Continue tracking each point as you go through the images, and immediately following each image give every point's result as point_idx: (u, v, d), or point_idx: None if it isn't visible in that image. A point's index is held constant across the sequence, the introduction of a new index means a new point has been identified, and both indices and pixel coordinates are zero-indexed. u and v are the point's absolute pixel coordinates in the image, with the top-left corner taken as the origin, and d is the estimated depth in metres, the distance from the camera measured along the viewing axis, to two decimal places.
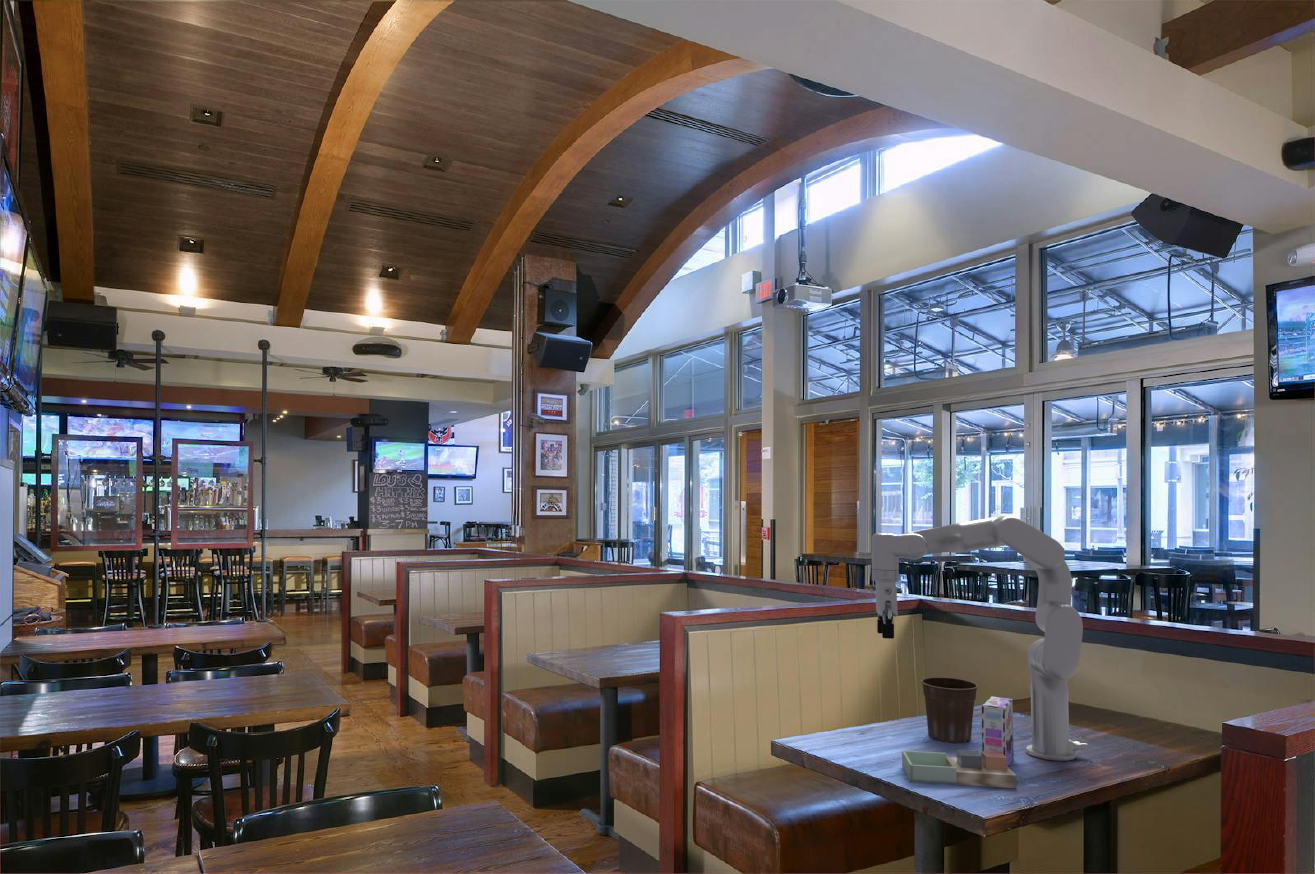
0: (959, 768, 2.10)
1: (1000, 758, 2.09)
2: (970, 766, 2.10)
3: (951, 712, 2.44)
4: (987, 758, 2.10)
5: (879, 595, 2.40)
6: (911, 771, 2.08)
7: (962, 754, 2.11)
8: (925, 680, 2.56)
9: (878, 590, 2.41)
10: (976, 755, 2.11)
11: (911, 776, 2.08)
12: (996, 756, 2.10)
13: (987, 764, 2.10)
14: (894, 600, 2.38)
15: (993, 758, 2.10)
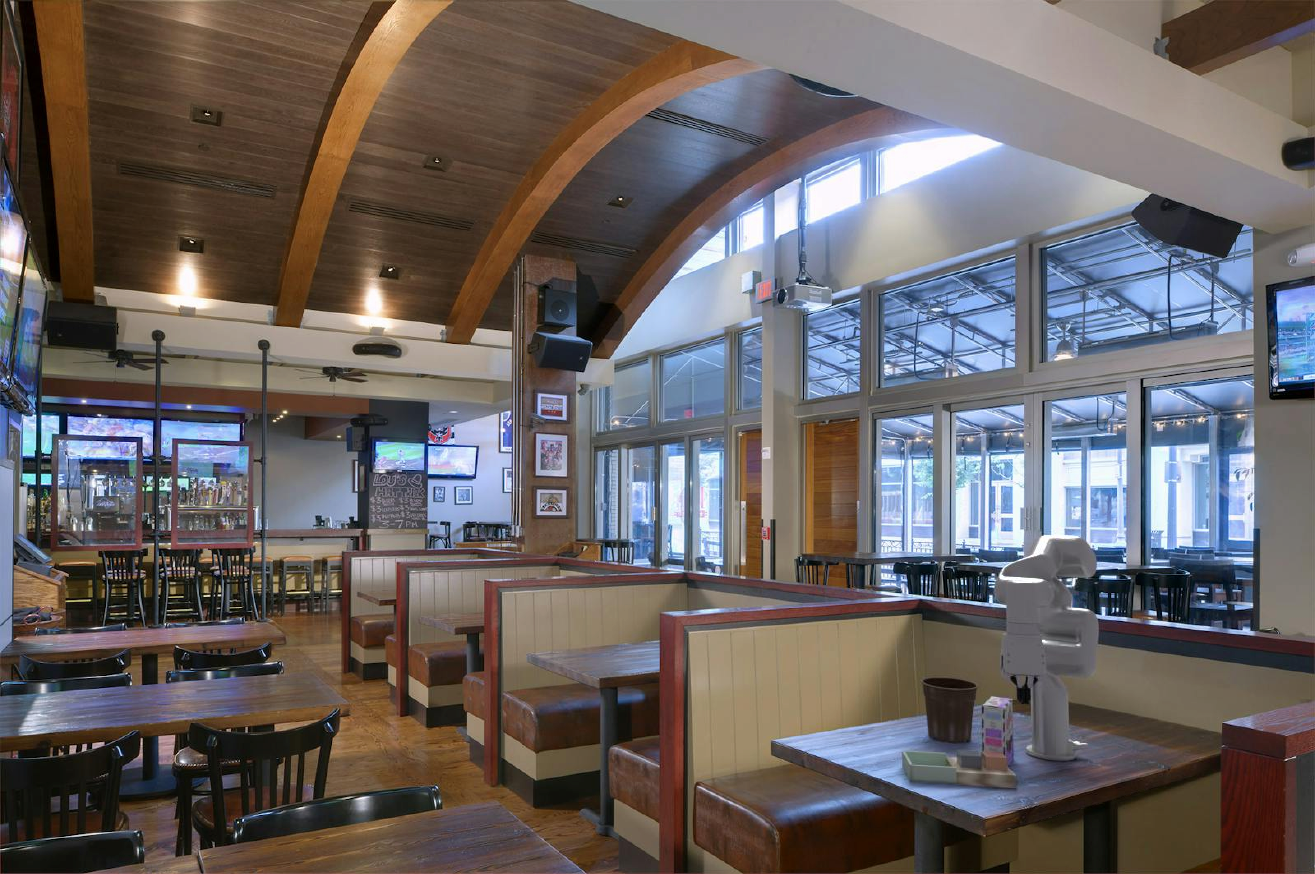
0: (959, 768, 2.10)
1: (1000, 758, 2.09)
2: (970, 766, 2.10)
3: (951, 712, 2.44)
4: (987, 758, 2.10)
5: (1040, 652, 2.11)
6: (911, 771, 2.08)
7: (962, 754, 2.11)
8: (925, 680, 2.56)
9: (1036, 647, 2.11)
10: (976, 755, 2.11)
11: (911, 776, 2.08)
12: (996, 756, 2.10)
13: (987, 764, 2.10)
14: None
15: (993, 758, 2.10)
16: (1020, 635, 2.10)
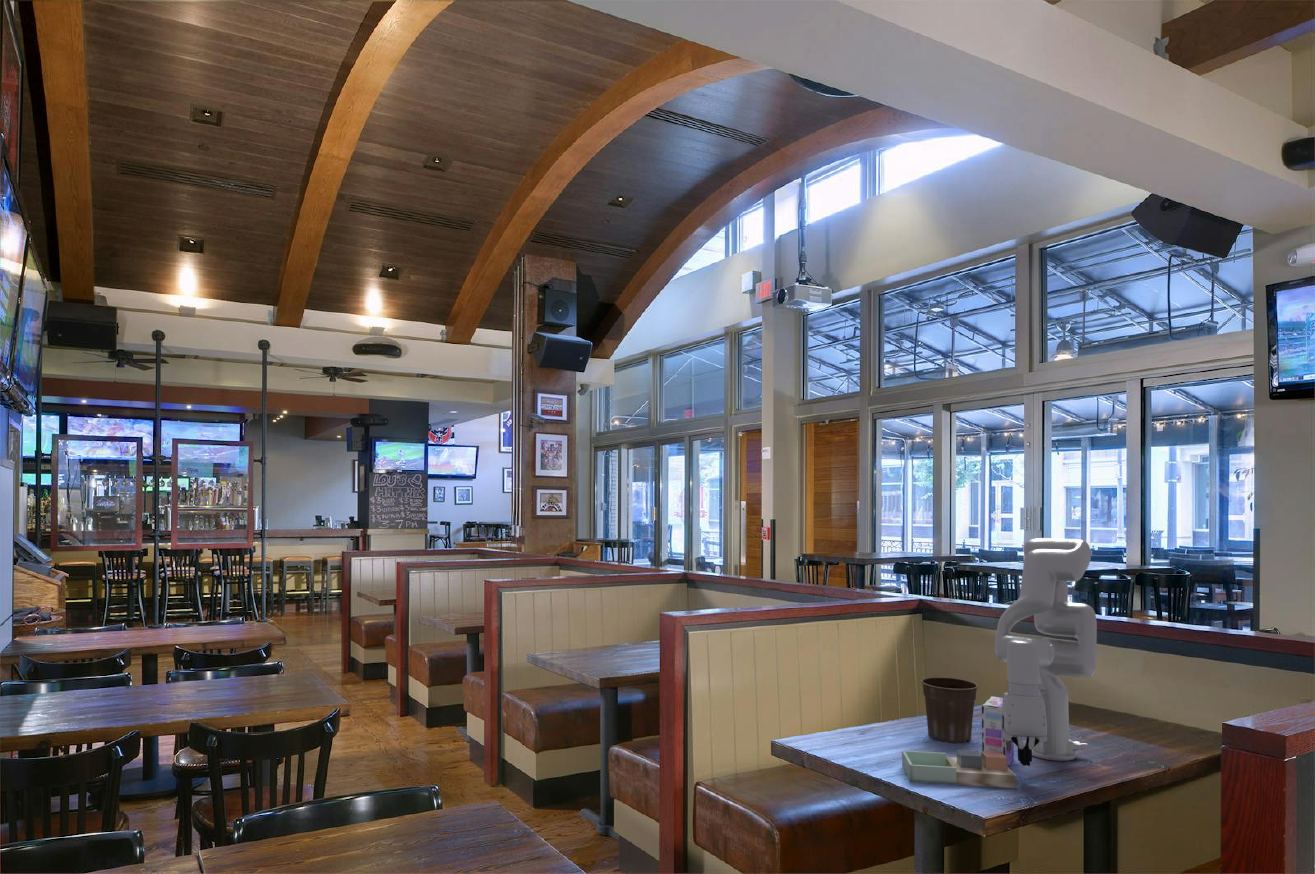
0: (959, 768, 2.10)
1: (1000, 758, 2.09)
2: (970, 766, 2.10)
3: (951, 712, 2.44)
4: (987, 758, 2.10)
5: (1042, 713, 2.09)
6: (911, 771, 2.08)
7: (962, 754, 2.11)
8: (925, 680, 2.56)
9: (1037, 708, 2.09)
10: (976, 755, 2.11)
11: (911, 776, 2.08)
12: (996, 756, 2.10)
13: (987, 764, 2.10)
14: None
15: (993, 758, 2.10)
16: (1021, 696, 2.09)
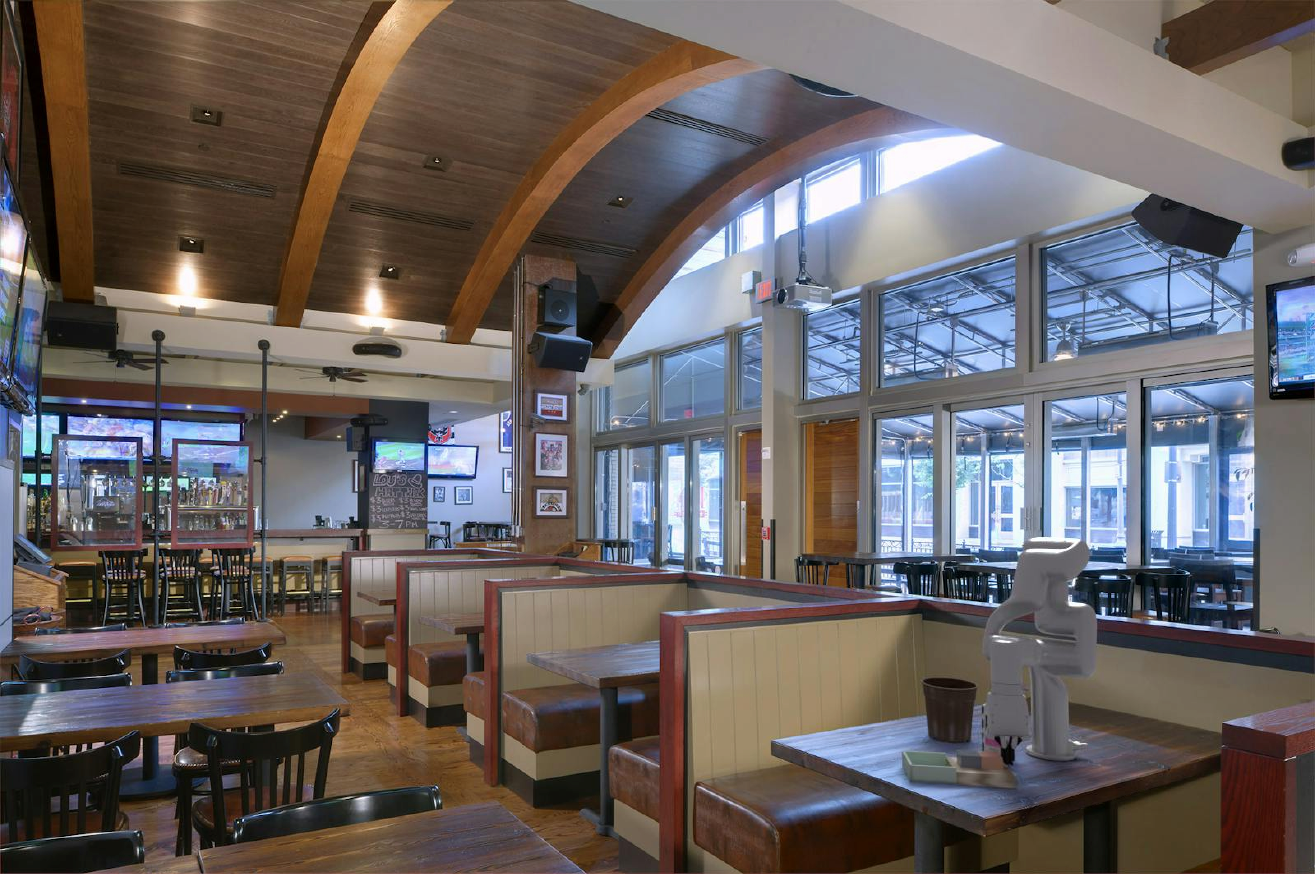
0: (959, 768, 2.10)
1: (996, 758, 2.10)
2: (970, 766, 2.10)
3: (951, 712, 2.44)
4: (983, 758, 2.10)
5: (1024, 713, 2.10)
6: (911, 771, 2.08)
7: (962, 754, 2.11)
8: (925, 680, 2.56)
9: (1020, 707, 2.10)
10: (976, 755, 2.11)
11: (911, 776, 2.08)
12: (992, 755, 2.10)
13: (983, 764, 2.10)
14: None
15: (989, 758, 2.10)
16: (1004, 696, 2.10)
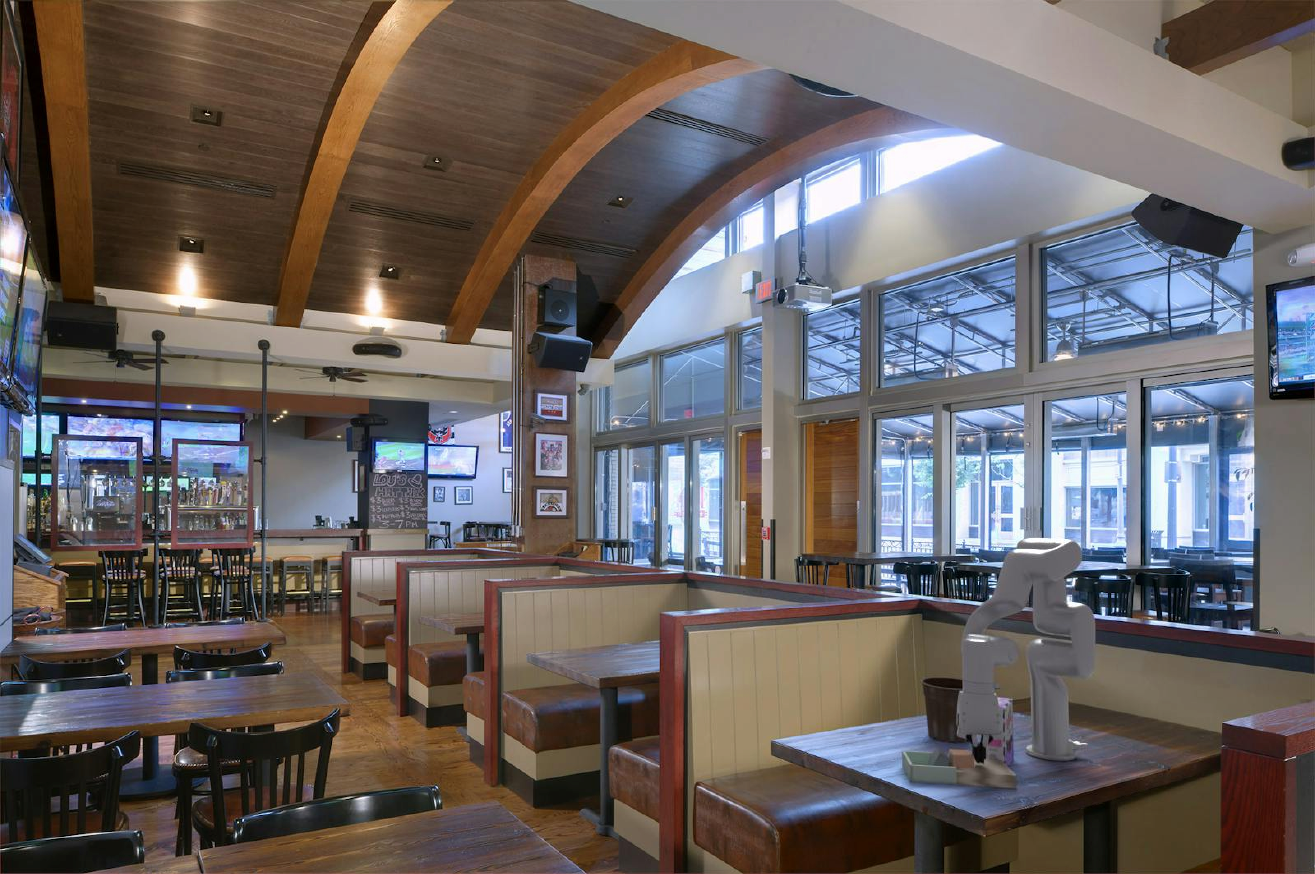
0: (959, 768, 2.10)
1: (967, 756, 2.10)
2: None
3: (951, 712, 2.44)
4: (954, 756, 2.11)
5: (995, 711, 2.11)
6: (911, 771, 2.08)
7: None
8: (925, 680, 2.56)
9: (991, 706, 2.11)
10: (937, 755, 2.12)
11: (911, 776, 2.08)
12: (963, 754, 2.11)
13: (954, 762, 2.11)
14: None
15: (960, 756, 2.11)
16: (975, 694, 2.11)
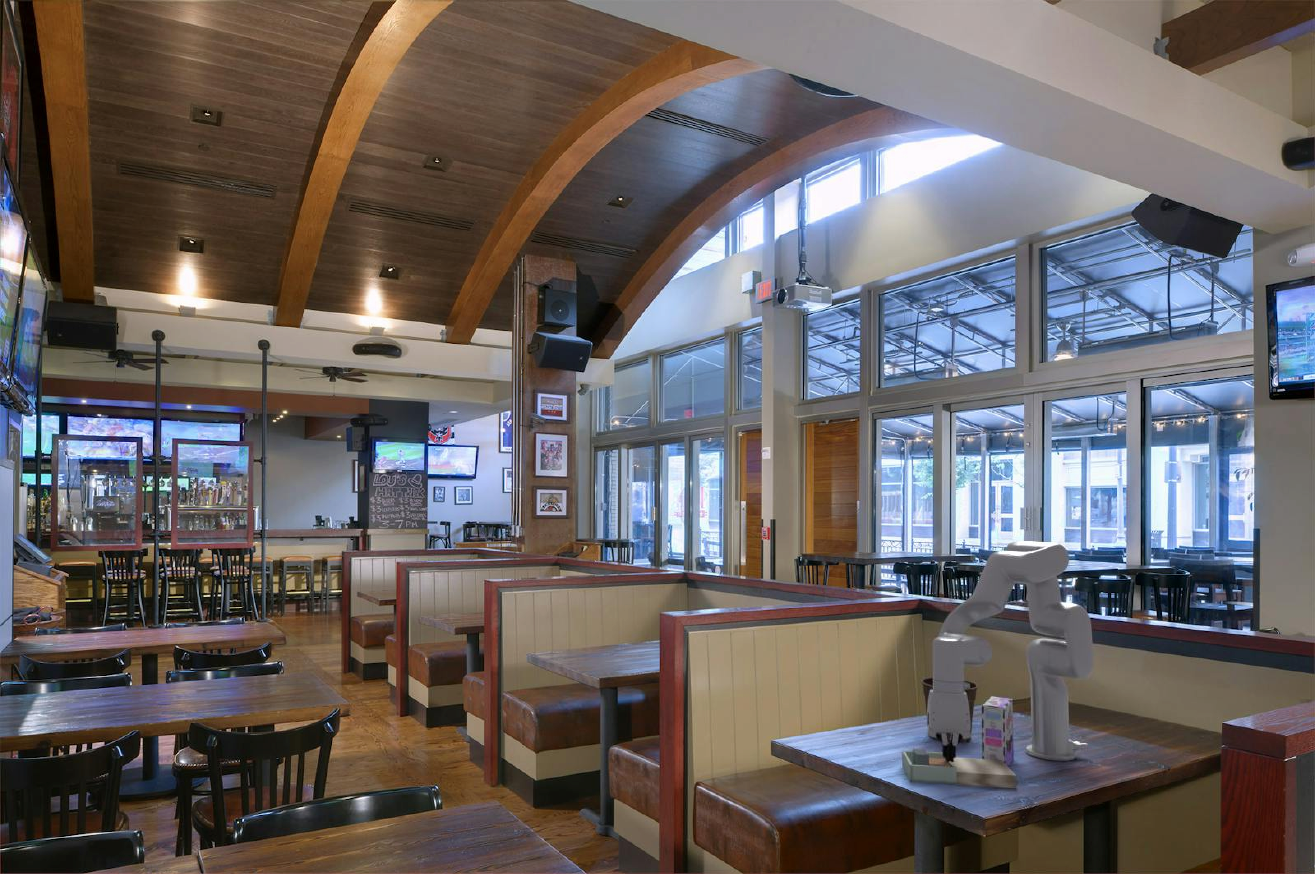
0: (959, 768, 2.10)
1: (943, 765, 2.11)
2: (927, 765, 2.12)
3: None
4: (931, 765, 2.11)
5: (965, 710, 2.12)
6: (911, 771, 2.08)
7: None
8: (925, 680, 2.56)
9: (961, 705, 2.12)
10: None
11: (911, 776, 2.08)
12: (940, 763, 2.12)
13: None
14: None
15: (937, 765, 2.11)
16: (945, 693, 2.12)
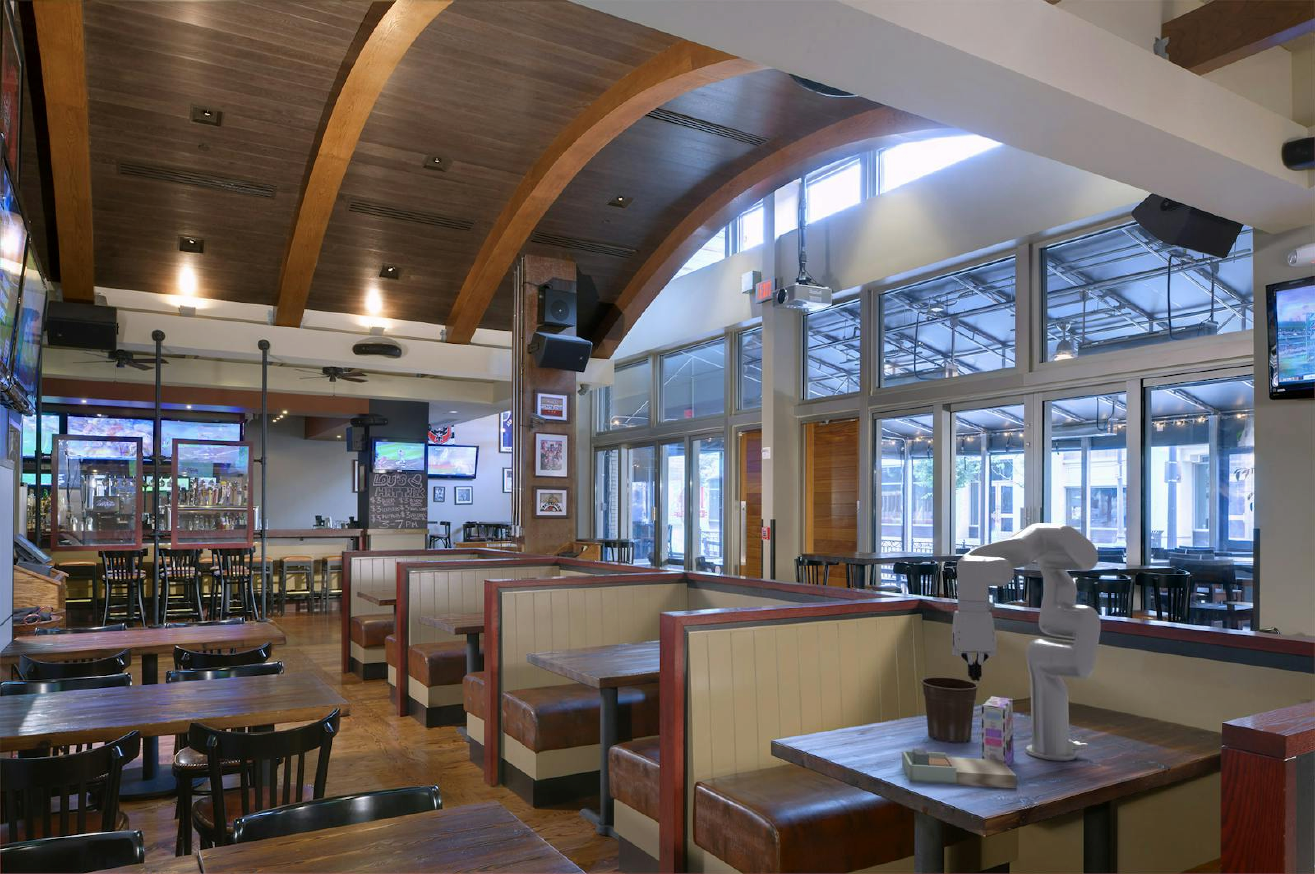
0: (959, 768, 2.10)
1: (943, 765, 2.11)
2: (927, 765, 2.12)
3: (951, 712, 2.44)
4: (931, 765, 2.11)
5: (990, 629, 2.13)
6: (911, 771, 2.08)
7: None
8: (925, 680, 2.56)
9: (986, 624, 2.13)
10: None
11: (911, 776, 2.08)
12: (940, 763, 2.12)
13: None
14: None
15: (937, 765, 2.11)
16: (970, 612, 2.13)
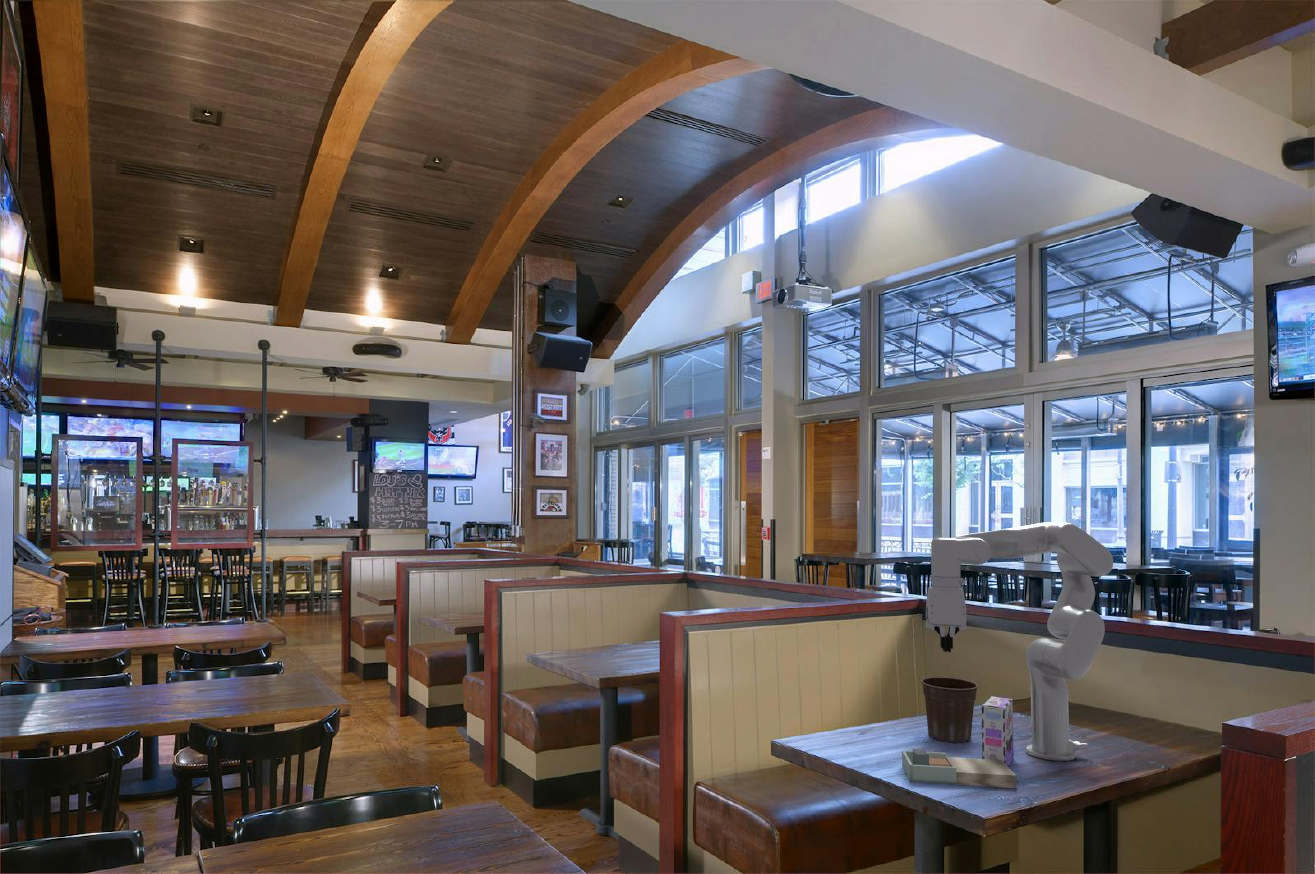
0: (959, 768, 2.10)
1: (943, 765, 2.11)
2: (927, 765, 2.12)
3: (951, 712, 2.44)
4: (931, 765, 2.11)
5: (961, 604, 2.27)
6: (911, 771, 2.08)
7: None
8: (925, 680, 2.56)
9: (958, 599, 2.27)
10: None
11: (911, 776, 2.08)
12: (940, 763, 2.12)
13: None
14: None
15: (937, 765, 2.11)
16: (942, 588, 2.27)
